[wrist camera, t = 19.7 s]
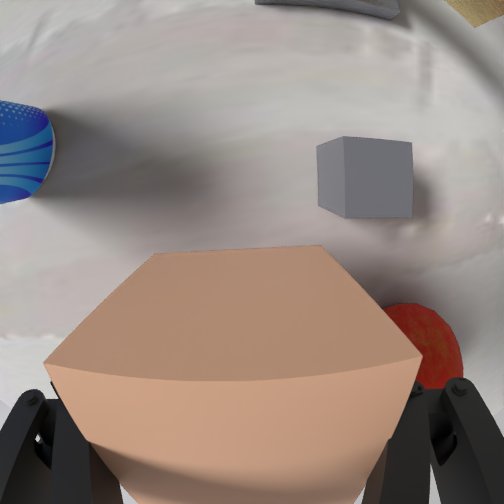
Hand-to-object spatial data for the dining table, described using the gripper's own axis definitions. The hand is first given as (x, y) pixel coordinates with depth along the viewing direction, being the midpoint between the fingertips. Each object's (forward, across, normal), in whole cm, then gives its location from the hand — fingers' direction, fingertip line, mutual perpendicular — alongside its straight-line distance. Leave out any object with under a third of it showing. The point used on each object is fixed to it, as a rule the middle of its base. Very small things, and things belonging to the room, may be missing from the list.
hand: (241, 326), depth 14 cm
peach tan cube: (0, 0, 0) cm, 0 cm away
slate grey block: (+8, +8, +7) cm, 13 cm away
